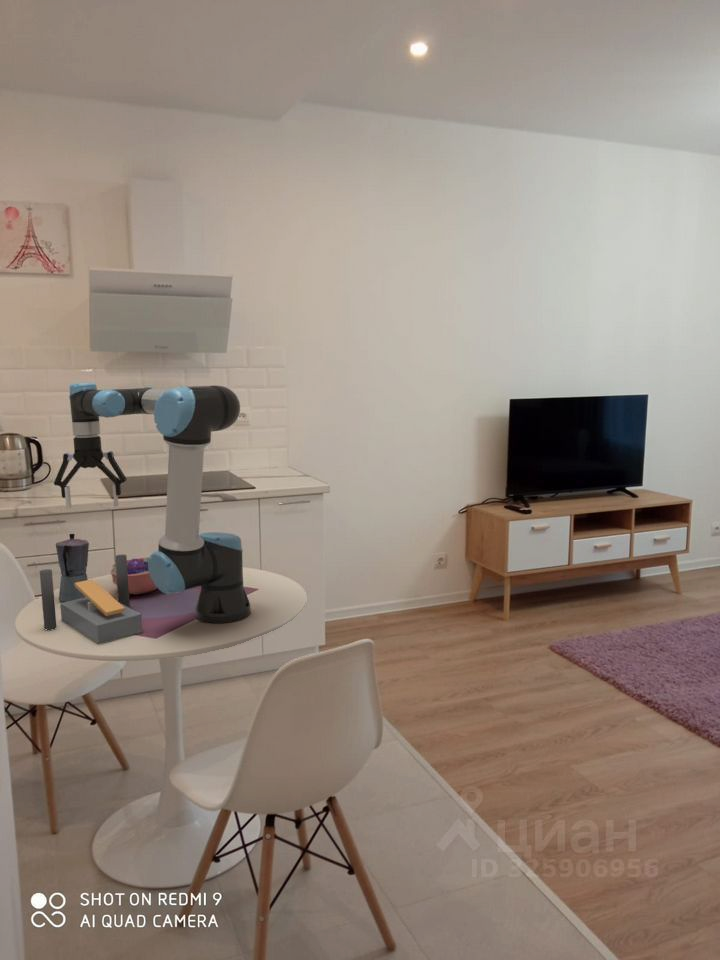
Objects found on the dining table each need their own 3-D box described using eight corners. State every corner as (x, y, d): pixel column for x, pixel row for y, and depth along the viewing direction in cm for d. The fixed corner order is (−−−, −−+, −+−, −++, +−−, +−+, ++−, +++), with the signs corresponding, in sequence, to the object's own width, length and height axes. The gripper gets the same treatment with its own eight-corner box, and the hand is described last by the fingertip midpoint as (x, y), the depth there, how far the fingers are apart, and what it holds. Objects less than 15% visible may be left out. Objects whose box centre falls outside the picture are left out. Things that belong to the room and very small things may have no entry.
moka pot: (96, 590, 233) (92, 528, 230) (87, 607, 218) (82, 540, 215) (64, 592, 231) (59, 529, 228) (52, 609, 216) (47, 542, 213)
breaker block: (142, 632, 198) (140, 605, 196) (98, 644, 190) (96, 616, 188) (103, 610, 215) (101, 585, 214) (61, 620, 207) (59, 595, 206)
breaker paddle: (124, 611, 196) (124, 607, 196) (106, 616, 193) (106, 612, 192) (92, 582, 210) (92, 579, 209) (74, 586, 206) (74, 582, 206)
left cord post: (58, 628, 201) (53, 570, 198) (47, 631, 199) (42, 573, 196) (54, 625, 203) (49, 568, 201) (42, 628, 201) (37, 570, 199)
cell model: (179, 582, 241) (177, 548, 239) (153, 602, 221) (151, 565, 219) (129, 580, 243) (126, 546, 241) (99, 600, 224) (96, 564, 222)
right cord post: (131, 610, 215) (128, 555, 212) (121, 612, 213) (118, 558, 210) (127, 607, 217) (123, 554, 215) (117, 609, 215) (113, 555, 213)
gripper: (133, 433, 224) (138, 503, 228) (46, 436, 221) (52, 506, 225) (128, 435, 217) (133, 507, 220) (38, 438, 214) (45, 511, 217)
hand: (92, 507), depth 222 cm, fingers open, 13 cm apart
